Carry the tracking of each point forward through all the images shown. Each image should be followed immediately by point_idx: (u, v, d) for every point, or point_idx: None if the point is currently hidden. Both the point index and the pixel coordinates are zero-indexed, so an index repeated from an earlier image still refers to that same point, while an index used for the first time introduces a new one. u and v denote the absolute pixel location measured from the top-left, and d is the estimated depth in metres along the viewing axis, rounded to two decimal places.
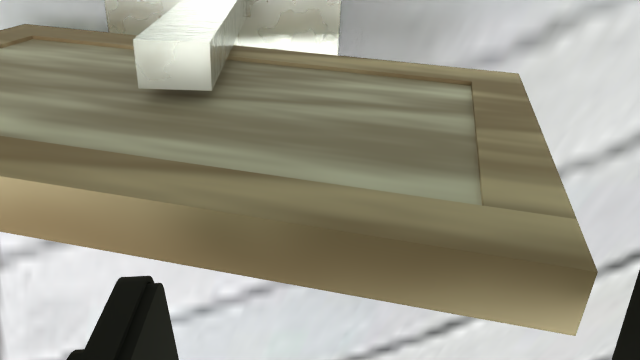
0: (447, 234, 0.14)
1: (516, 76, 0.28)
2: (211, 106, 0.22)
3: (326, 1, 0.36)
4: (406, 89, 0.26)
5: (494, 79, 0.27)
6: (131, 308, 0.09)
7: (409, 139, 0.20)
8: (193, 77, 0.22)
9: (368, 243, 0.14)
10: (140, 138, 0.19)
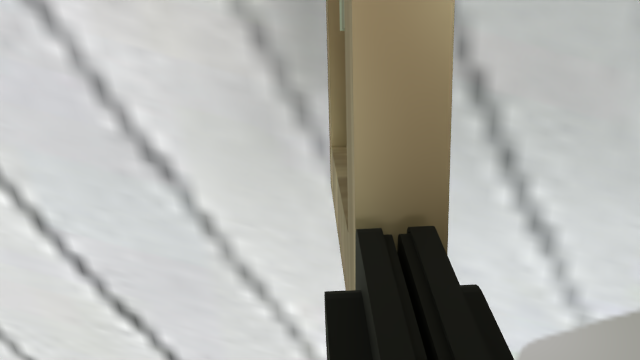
0: None
1: None
2: None
3: None
4: None
5: None
6: (384, 252, 0.10)
7: None
8: None
9: (438, 134, 0.11)
10: None
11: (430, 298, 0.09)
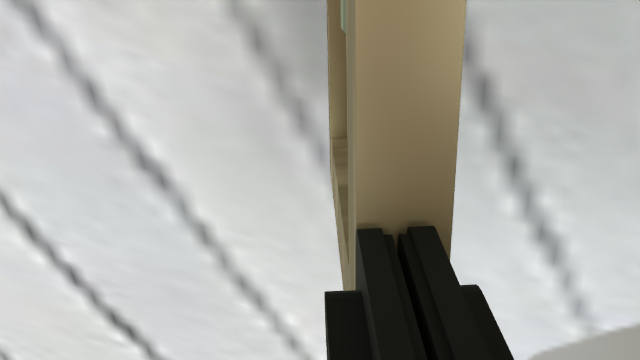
0: None
1: None
2: None
3: None
4: None
5: None
6: (384, 252, 0.10)
7: None
8: None
9: (441, 198, 0.11)
10: None
11: (430, 298, 0.09)
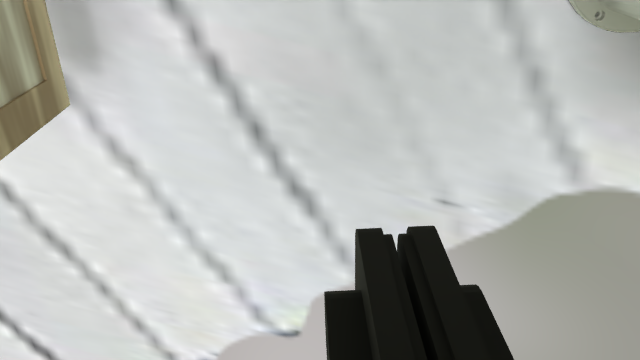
0: None
1: (66, 105, 0.38)
2: None
3: None
4: (17, 39, 0.33)
5: (56, 93, 0.37)
6: (384, 252, 0.10)
7: None
8: None
9: None
10: None
11: (430, 298, 0.09)
